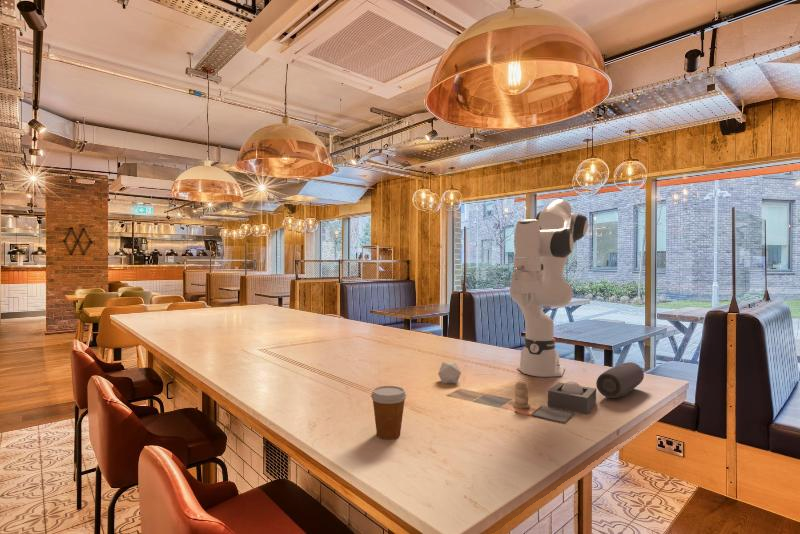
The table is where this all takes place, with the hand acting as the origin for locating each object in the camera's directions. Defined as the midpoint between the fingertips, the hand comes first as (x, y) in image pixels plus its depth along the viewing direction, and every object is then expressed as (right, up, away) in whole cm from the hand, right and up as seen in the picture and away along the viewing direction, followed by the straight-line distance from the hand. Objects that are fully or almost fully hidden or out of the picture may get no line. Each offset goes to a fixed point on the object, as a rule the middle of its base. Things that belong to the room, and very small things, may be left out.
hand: (526, 305), depth 152 cm
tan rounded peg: (-5, -31, -13) cm, 34 cm away
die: (-25, -31, +14) cm, 42 cm away
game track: (-9, -31, -10) cm, 34 cm away
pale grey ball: (+12, -31, -9) cm, 34 cm away
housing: (+12, -31, -9) cm, 35 cm away
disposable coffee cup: (-47, -32, -34) cm, 66 cm away
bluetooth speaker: (+34, -32, +2) cm, 46 cm away
